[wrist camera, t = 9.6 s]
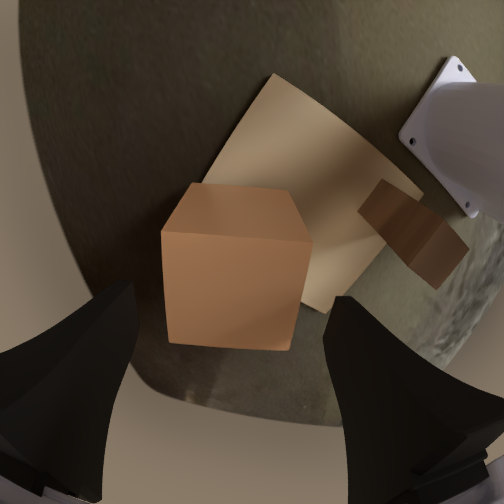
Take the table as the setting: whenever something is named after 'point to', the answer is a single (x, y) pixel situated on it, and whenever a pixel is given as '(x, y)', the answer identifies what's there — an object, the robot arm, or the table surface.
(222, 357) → the table surface
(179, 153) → the table surface
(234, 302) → the tan rectangular block
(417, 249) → the post
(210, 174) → the board
